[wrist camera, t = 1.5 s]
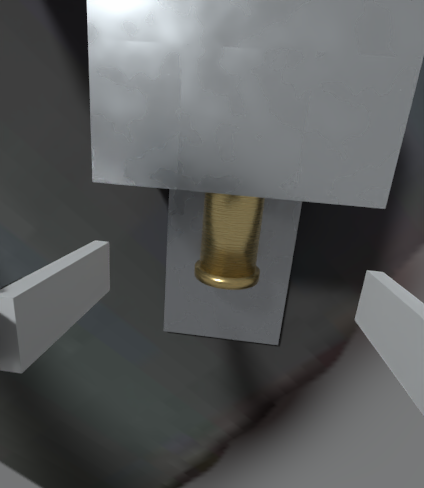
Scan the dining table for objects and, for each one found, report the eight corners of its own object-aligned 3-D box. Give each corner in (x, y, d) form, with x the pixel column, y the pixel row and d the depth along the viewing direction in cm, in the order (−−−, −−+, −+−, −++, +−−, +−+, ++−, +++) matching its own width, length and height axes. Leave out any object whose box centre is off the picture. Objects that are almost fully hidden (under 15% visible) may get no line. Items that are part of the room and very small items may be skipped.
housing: (146, 325, 31) (100, 408, 21) (153, 22, 24) (83, -90, 13) (296, 344, 30) (327, 441, 20) (355, 33, 22) (457, -80, 12)
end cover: (198, 261, 28) (189, 285, 23) (210, 106, 24) (201, 90, 19) (256, 267, 28) (261, 293, 22) (277, 111, 24) (288, 96, 18)
